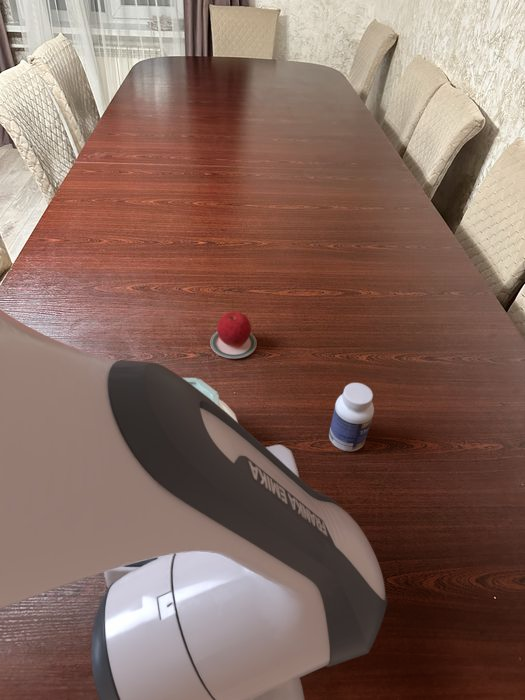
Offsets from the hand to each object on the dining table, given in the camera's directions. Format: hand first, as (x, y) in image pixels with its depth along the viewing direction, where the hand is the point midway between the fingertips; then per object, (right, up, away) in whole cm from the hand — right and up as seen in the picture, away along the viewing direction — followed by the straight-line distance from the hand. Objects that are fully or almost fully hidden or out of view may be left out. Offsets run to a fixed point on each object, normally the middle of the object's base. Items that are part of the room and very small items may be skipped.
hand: (182, 435), depth 55 cm
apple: (+3, +10, +36) cm, 38 cm away
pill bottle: (+21, -4, +22) cm, 31 cm away
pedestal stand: (0, -4, +3) cm, 5 cm away
